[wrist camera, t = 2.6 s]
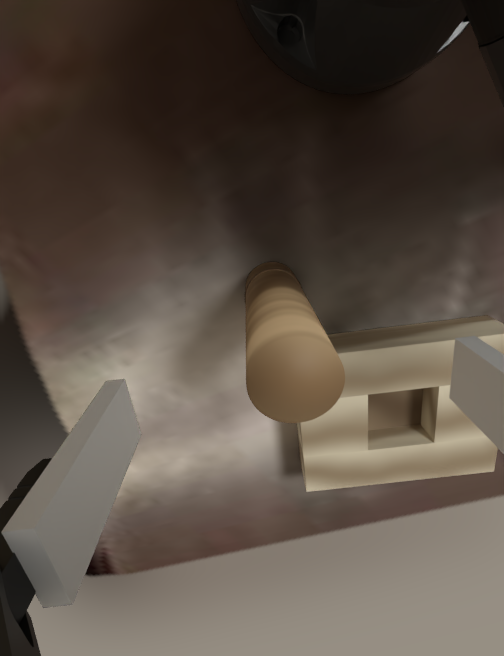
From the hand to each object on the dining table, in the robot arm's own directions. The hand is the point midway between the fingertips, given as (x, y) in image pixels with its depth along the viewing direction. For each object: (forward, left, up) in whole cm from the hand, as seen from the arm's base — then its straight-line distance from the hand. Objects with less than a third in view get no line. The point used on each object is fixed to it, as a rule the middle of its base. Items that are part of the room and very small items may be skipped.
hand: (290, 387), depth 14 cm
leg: (0, 0, -14) cm, 14 cm away
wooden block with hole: (+11, +9, -14) cm, 20 cm away
